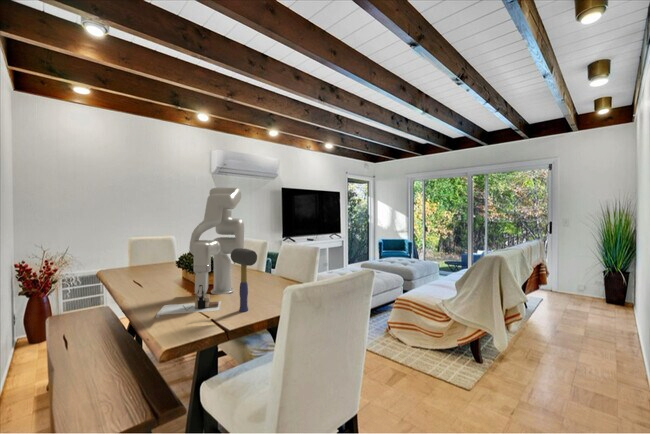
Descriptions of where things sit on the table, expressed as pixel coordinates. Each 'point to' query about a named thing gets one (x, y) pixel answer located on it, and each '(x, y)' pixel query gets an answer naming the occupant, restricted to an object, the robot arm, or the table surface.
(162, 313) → the board
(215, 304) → the walnut offcut
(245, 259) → the rubber mallet
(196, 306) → the sanding block
